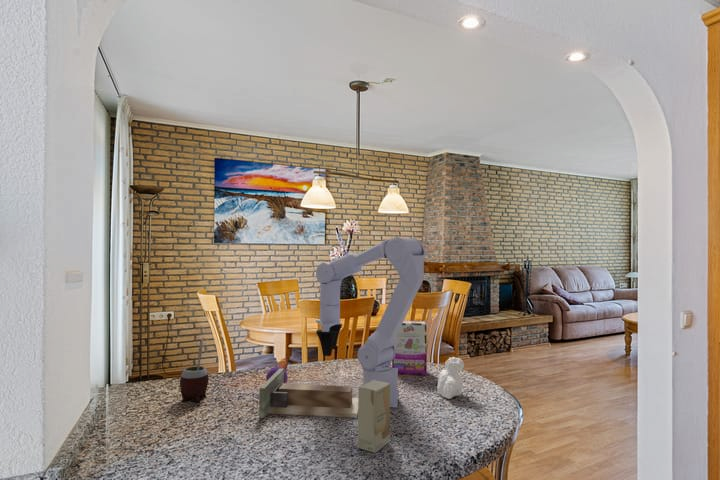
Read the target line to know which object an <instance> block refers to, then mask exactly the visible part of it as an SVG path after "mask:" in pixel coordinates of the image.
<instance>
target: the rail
mask: <svg viewBox="0 0 720 480" xmlns="http://www.w3.org/2000/svg"><path fill="white" fill-rule="evenodd" d="M279 392H287V405H293V406H313V407H334V408H350V407H351V404H352V398H353V386H351V385H350V386H348V385H347V386H346V385H330V384H329V385H326V384H324V385H323V384H302V383H287V384H284V383H283V384H282V386H281V387H280V388H279Z"/></svg>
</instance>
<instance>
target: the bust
mask: <svg viewBox="0 0 720 480" xmlns="http://www.w3.org/2000/svg"><path fill="white" fill-rule="evenodd" d="M444 365H445V367H446V369H442V370H441V371H440V373H439V374H438V377H437V387H436V389H437V392H438V394H439V395H440V396H441V397H442V398H446V399H448V400H451V399H453V398H454V397H458V396H460V395H461V393H462V390H463V386H464V384H463V378H462V376H461V375H460V373H459V372H460V371H461V370H463V368H464V366H465V362H464V361H463V359H461V357H456V356H452V357H450V356H449V357H448V359H447V360H446V361H445V362H444Z"/></svg>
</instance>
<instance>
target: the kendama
mask: <svg viewBox="0 0 720 480" xmlns="http://www.w3.org/2000/svg"><path fill="white" fill-rule="evenodd" d="M287 368H288V362H287V361H286V360H283V359H282V360H280V361H279V362H277V366H274V367H272V368H270V369H269V370H268V372H267V374H266V378H265V379H266V380H265V382H266V381H267V380H268V379H269V378H270V377H271V376H272V375H274V374H275V373H276V372H277V371H278V370H279V369H284V383H287V381H288V373H287Z"/></svg>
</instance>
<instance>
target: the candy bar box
mask: <svg viewBox="0 0 720 480" xmlns="http://www.w3.org/2000/svg"><path fill="white" fill-rule="evenodd" d="M427 329H428V328H427V321H417V320H404V321H403V323H402V325H401V327H400V329H399V331H398V333H397V336H396V340H397V341H398V343H397V345H396V349H395V350H396V353H395V357H394V359H393V360H392V361H391V367H392V368H398V375H419V376H427V374H428V373H427V372H428V360H427V359H428V358H427V357H428V356H427V354H428V350H427V349H428V346H427V343H428V341H427V336H428V335H427Z"/></svg>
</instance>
